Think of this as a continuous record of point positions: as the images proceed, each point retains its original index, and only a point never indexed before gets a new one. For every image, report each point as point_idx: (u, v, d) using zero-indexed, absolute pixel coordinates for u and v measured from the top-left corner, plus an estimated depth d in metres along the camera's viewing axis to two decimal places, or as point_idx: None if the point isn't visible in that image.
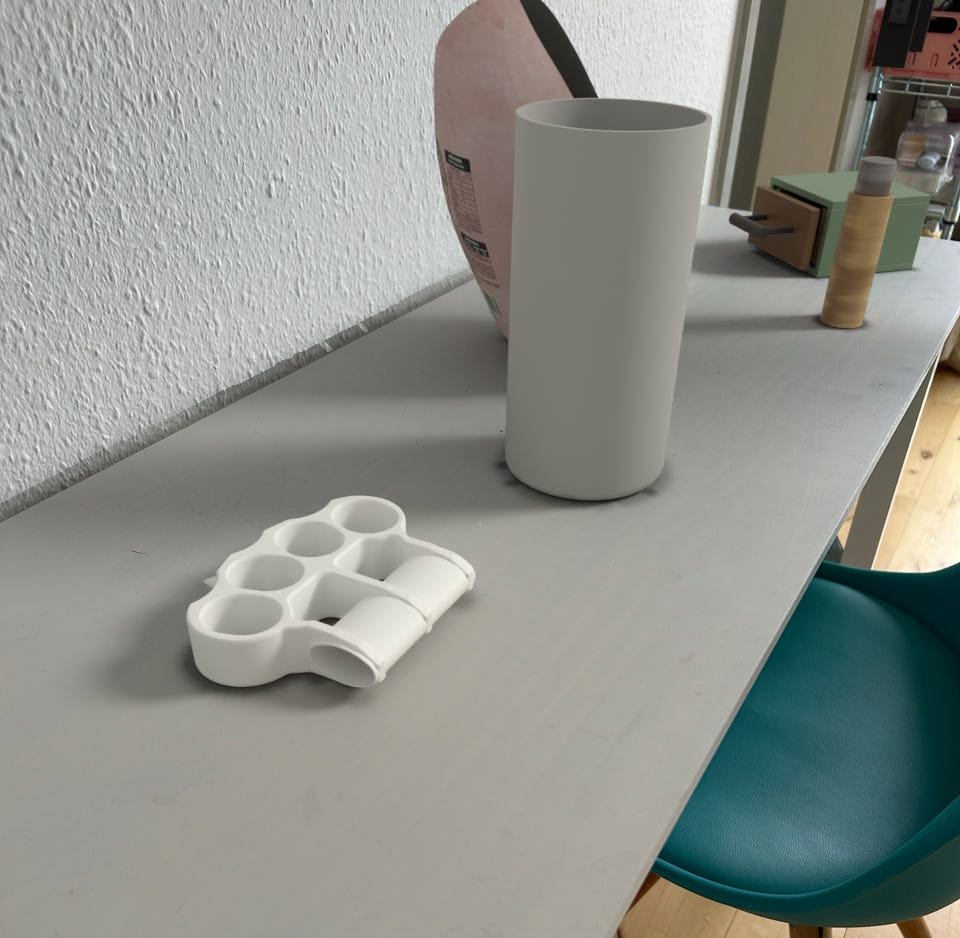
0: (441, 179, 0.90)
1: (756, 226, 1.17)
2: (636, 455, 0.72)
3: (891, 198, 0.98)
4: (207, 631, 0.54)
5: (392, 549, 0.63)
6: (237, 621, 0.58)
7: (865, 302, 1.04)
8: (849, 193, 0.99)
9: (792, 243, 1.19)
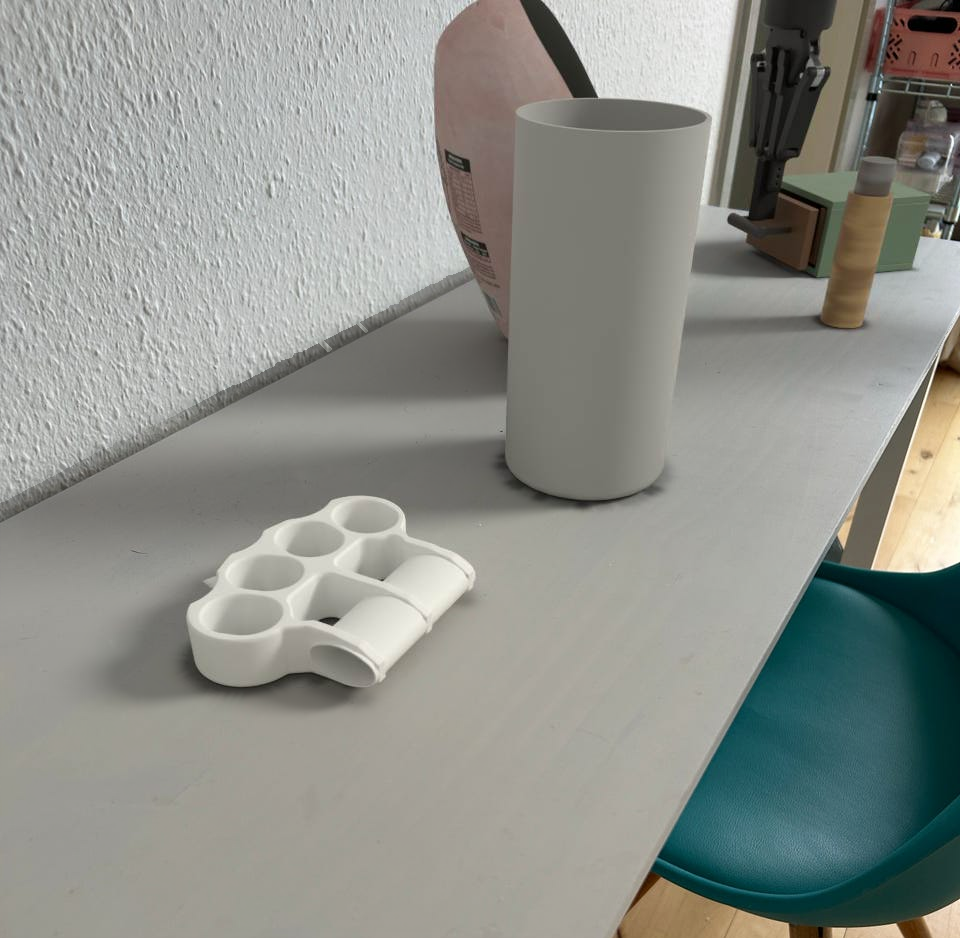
0: (441, 179, 0.90)
1: (754, 226, 1.17)
2: (636, 455, 0.72)
3: (891, 198, 0.98)
4: (207, 631, 0.54)
5: (392, 549, 0.63)
6: (237, 621, 0.58)
7: (865, 302, 1.04)
8: (849, 193, 0.99)
9: (790, 243, 1.19)
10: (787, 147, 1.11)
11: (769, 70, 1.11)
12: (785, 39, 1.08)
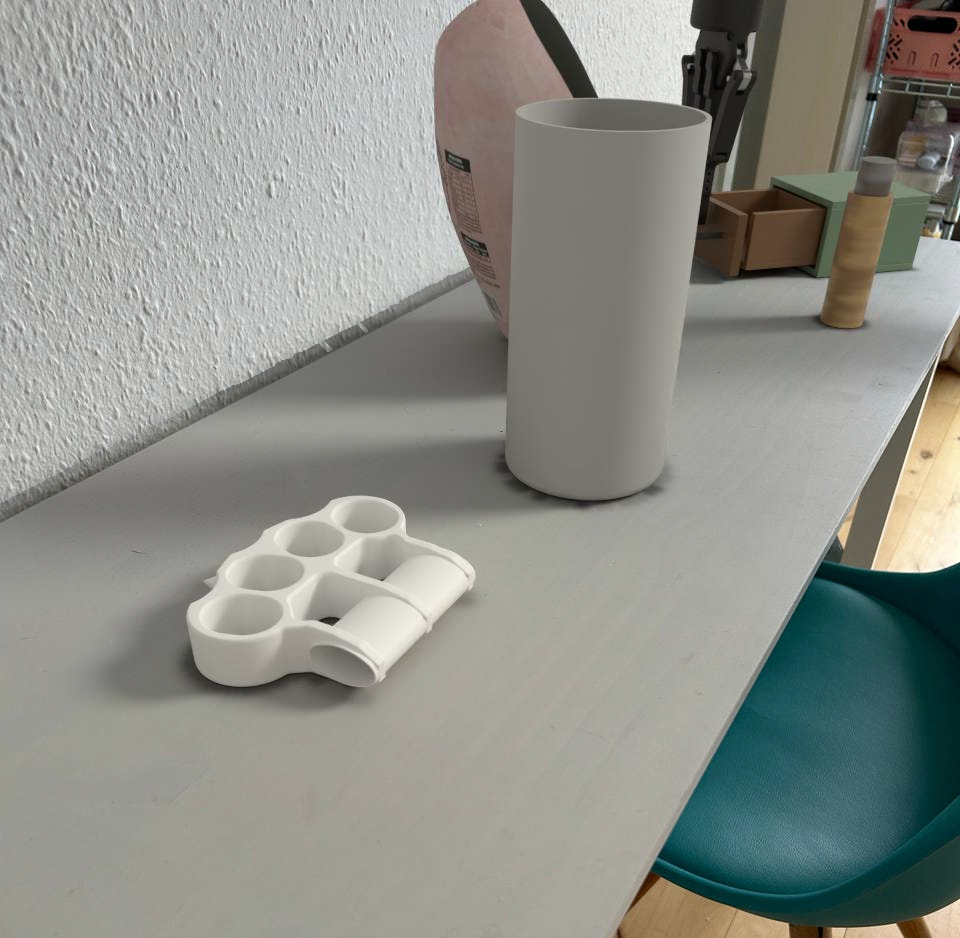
0: (441, 179, 0.90)
1: None
2: (636, 455, 0.72)
3: (891, 198, 0.98)
4: (207, 631, 0.54)
5: (392, 549, 0.63)
6: (237, 621, 0.58)
7: (865, 302, 1.04)
8: (849, 193, 0.99)
9: (721, 248, 1.16)
10: (715, 152, 1.09)
11: (698, 72, 1.08)
12: (713, 41, 1.06)
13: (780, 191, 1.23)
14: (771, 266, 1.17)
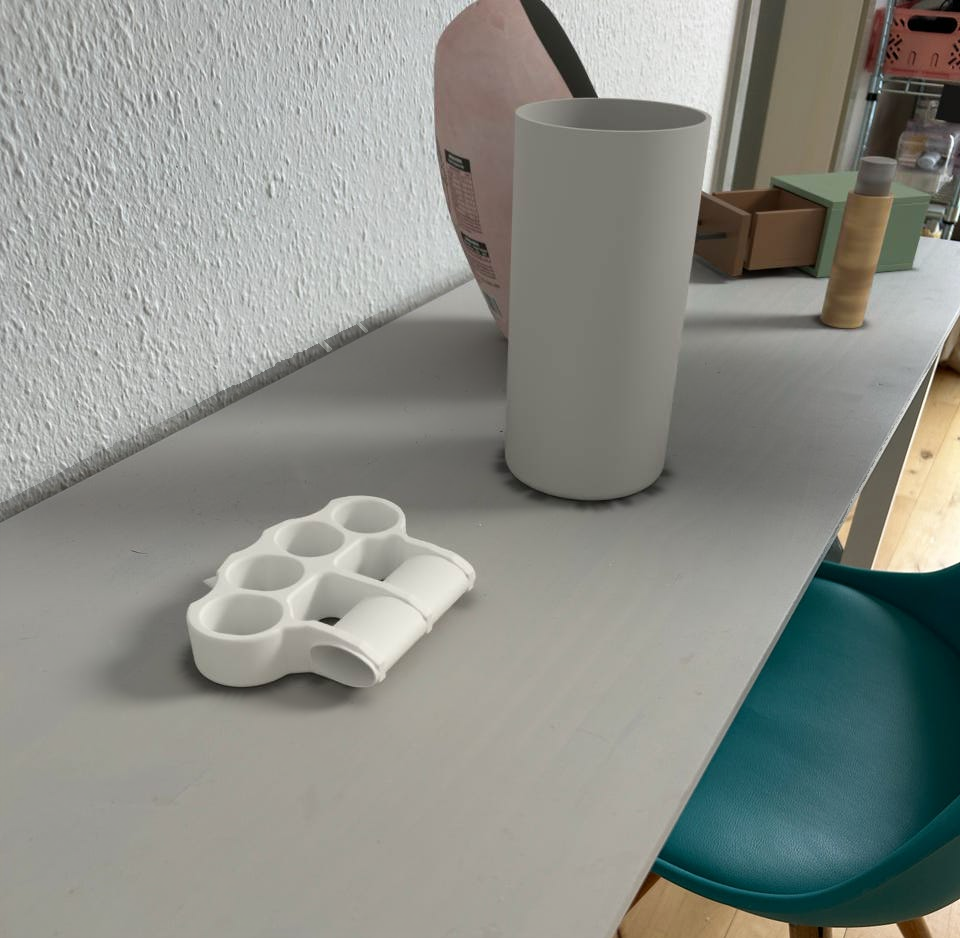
0: (441, 179, 0.90)
1: None
2: (636, 455, 0.72)
3: (891, 198, 0.98)
4: (207, 631, 0.54)
5: (392, 549, 0.63)
6: (237, 621, 0.58)
7: (865, 302, 1.04)
8: (849, 193, 0.99)
9: (724, 248, 1.16)
10: None
11: None
12: None
13: (783, 191, 1.23)
14: (774, 266, 1.18)
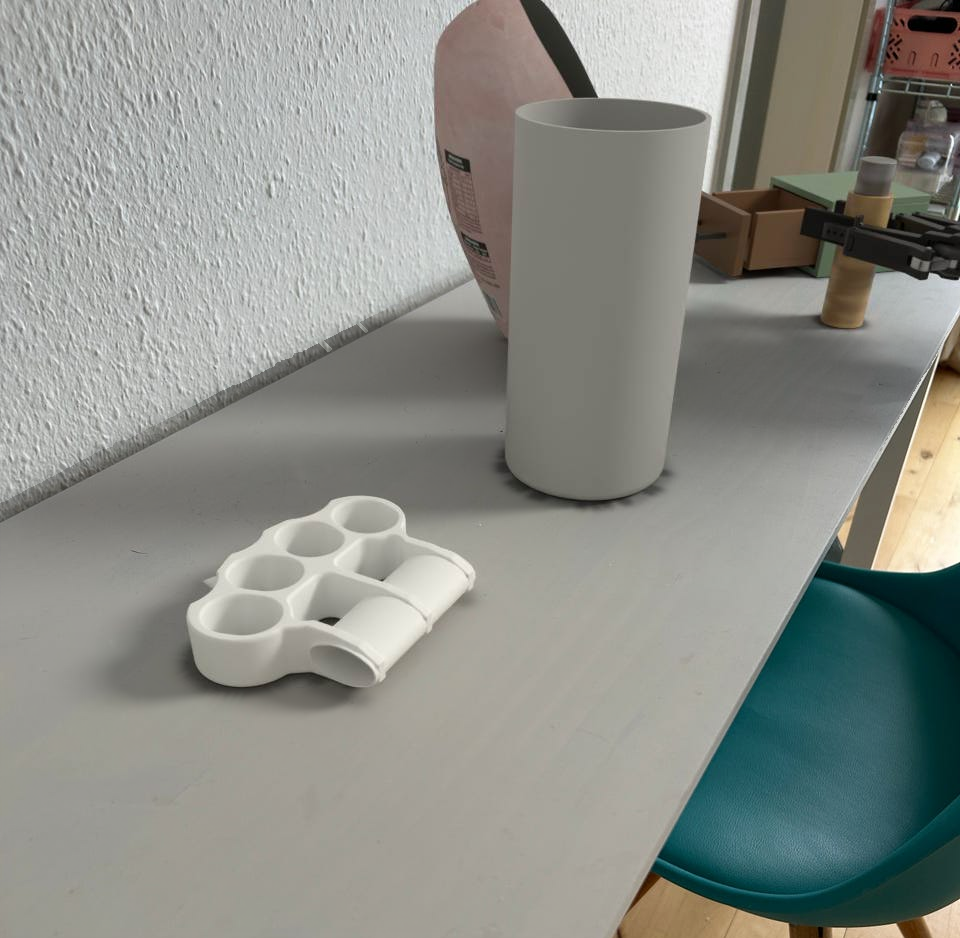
0: (441, 179, 0.90)
1: None
2: (636, 455, 0.72)
3: (891, 198, 0.98)
4: (207, 631, 0.54)
5: (392, 549, 0.63)
6: (237, 621, 0.58)
7: (865, 302, 1.04)
8: (849, 193, 0.99)
9: (724, 248, 1.16)
10: None
11: None
12: None
13: (783, 191, 1.23)
14: (774, 266, 1.18)
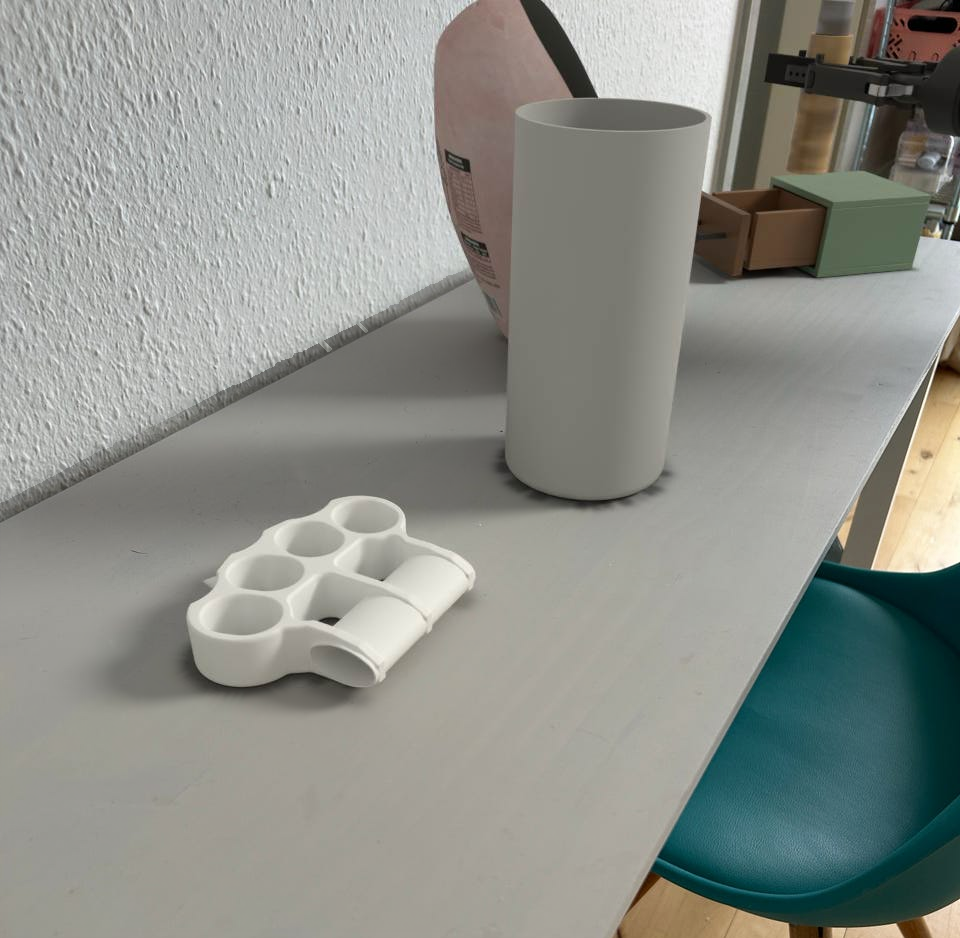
0: (441, 179, 0.90)
1: None
2: (636, 455, 0.72)
3: (851, 38, 1.01)
4: (207, 631, 0.54)
5: (392, 549, 0.63)
6: (237, 621, 0.58)
7: (828, 148, 1.07)
8: (810, 35, 1.02)
9: (724, 248, 1.16)
10: None
11: None
12: None
13: (783, 191, 1.23)
14: (774, 266, 1.18)
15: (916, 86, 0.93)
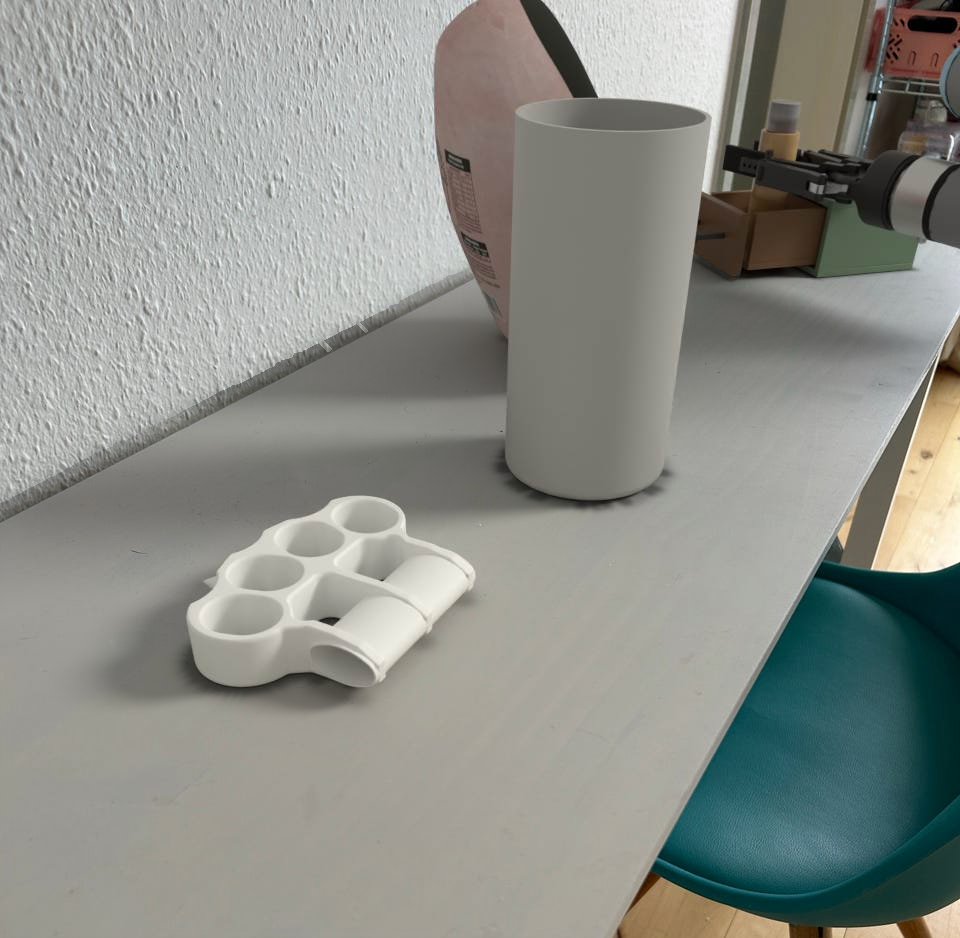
0: (441, 179, 0.90)
1: None
2: (636, 455, 0.72)
3: (797, 135, 1.13)
4: (207, 631, 0.54)
5: (392, 549, 0.63)
6: (237, 621, 0.58)
7: None
8: (762, 131, 1.14)
9: (724, 248, 1.16)
10: None
11: None
12: None
13: None
14: (773, 266, 1.18)
15: (850, 186, 1.06)
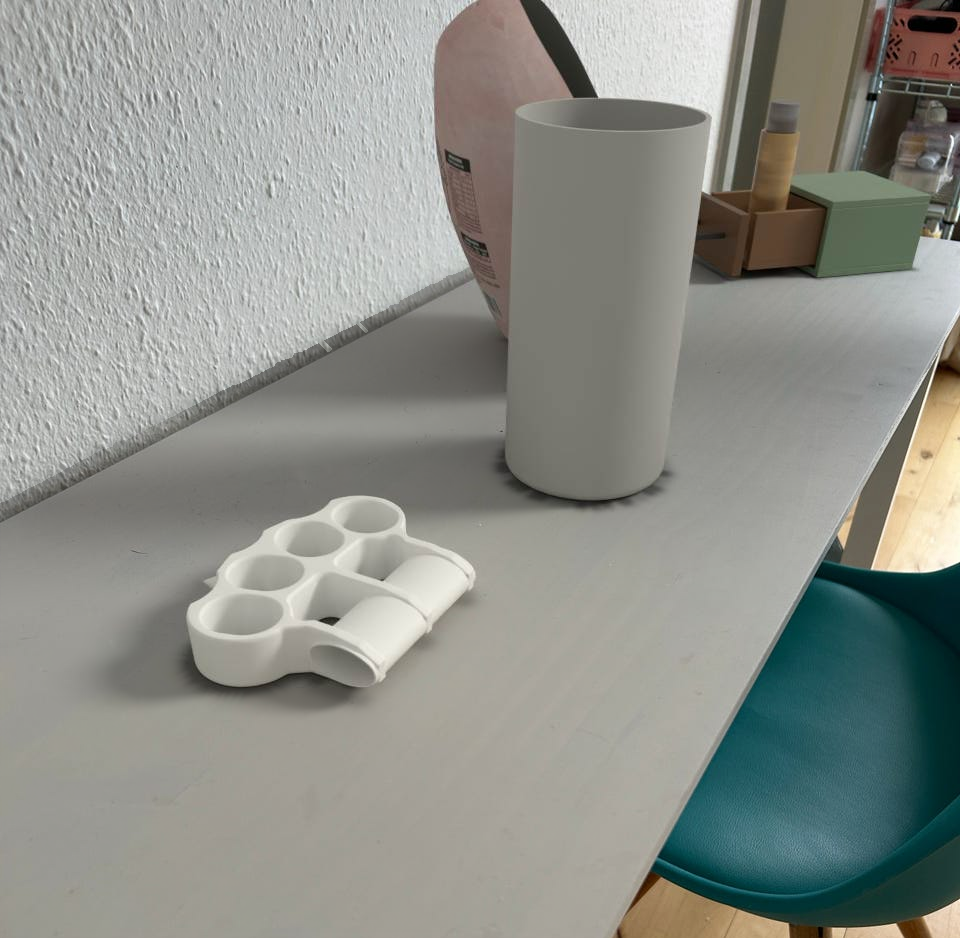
0: (441, 179, 0.90)
1: None
2: (636, 455, 0.72)
3: (797, 135, 1.13)
4: (207, 631, 0.54)
5: (392, 549, 0.63)
6: (237, 621, 0.58)
7: None
8: (761, 131, 1.14)
9: (724, 248, 1.16)
10: None
11: None
12: None
13: None
14: (773, 266, 1.18)
15: None
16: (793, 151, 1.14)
